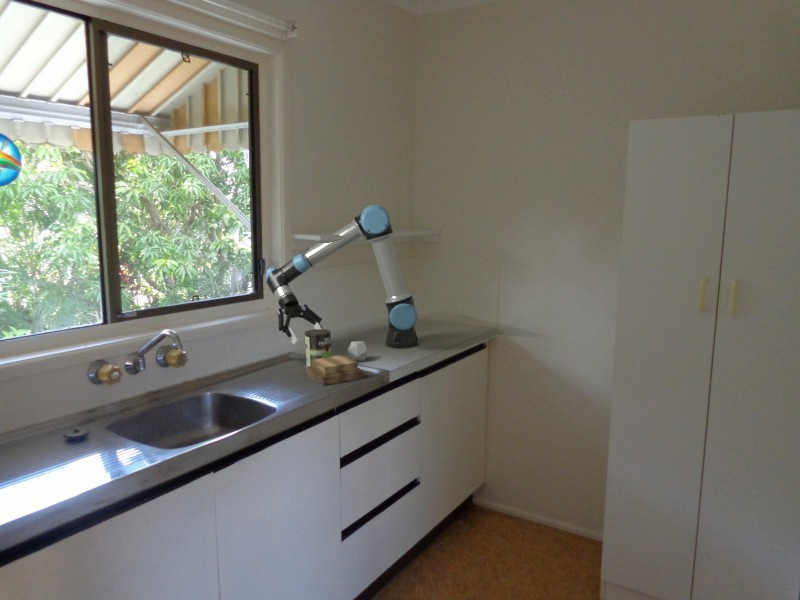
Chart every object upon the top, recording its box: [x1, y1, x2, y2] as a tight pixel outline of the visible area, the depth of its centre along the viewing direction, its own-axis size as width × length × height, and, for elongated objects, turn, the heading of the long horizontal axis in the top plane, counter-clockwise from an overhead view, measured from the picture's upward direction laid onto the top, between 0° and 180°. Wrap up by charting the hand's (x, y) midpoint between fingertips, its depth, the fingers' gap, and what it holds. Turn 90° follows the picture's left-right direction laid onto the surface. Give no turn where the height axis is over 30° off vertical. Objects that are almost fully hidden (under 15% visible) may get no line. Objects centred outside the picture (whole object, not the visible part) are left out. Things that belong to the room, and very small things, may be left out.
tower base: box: [305, 354, 364, 386], centre depth 218 cm, size 16×16×6 cm
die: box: [347, 340, 369, 362], centre depth 241 cm, size 8×9×10 cm
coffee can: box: [304, 329, 332, 368], centre depth 233 cm, size 10×10×14 cm
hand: (309, 339), depth 234 cm, fingers open, 13 cm apart
